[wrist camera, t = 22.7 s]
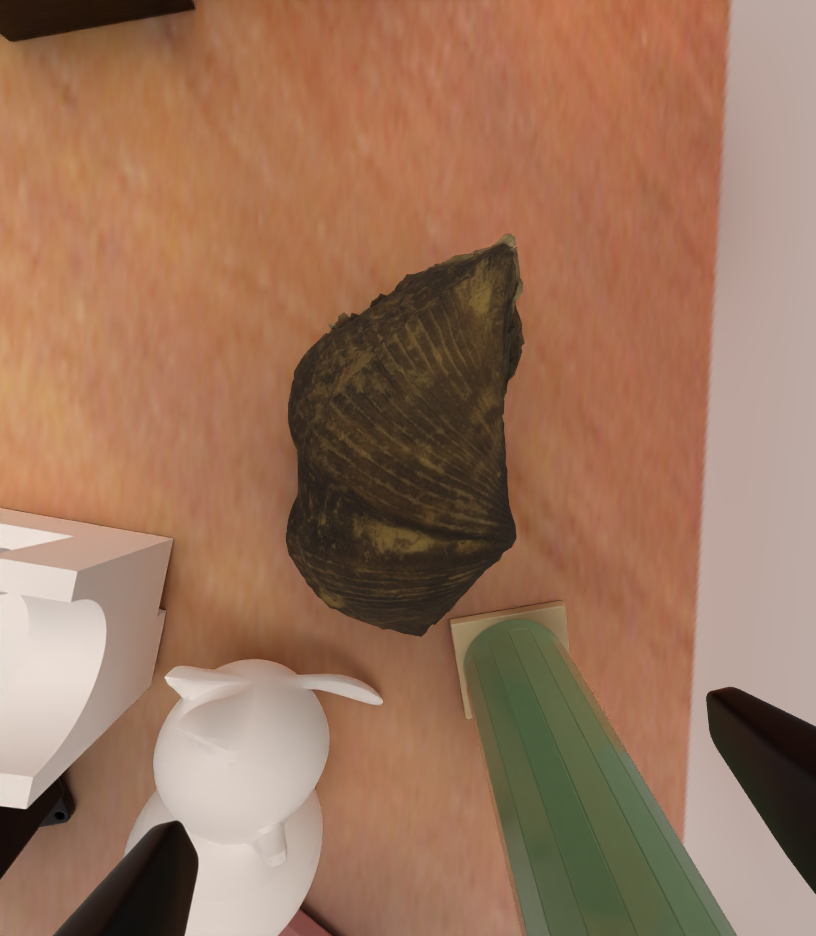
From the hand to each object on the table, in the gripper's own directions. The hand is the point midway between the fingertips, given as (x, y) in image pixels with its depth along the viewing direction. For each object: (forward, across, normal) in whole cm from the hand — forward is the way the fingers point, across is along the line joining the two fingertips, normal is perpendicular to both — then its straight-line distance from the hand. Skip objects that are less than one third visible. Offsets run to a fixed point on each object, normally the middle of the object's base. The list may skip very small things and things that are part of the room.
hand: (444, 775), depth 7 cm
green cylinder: (+12, -3, +9) cm, 16 cm away
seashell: (+13, 0, -3) cm, 14 cm away
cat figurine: (+13, +9, +10) cm, 19 cm away
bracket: (+13, +18, -2) cm, 22 cm away
